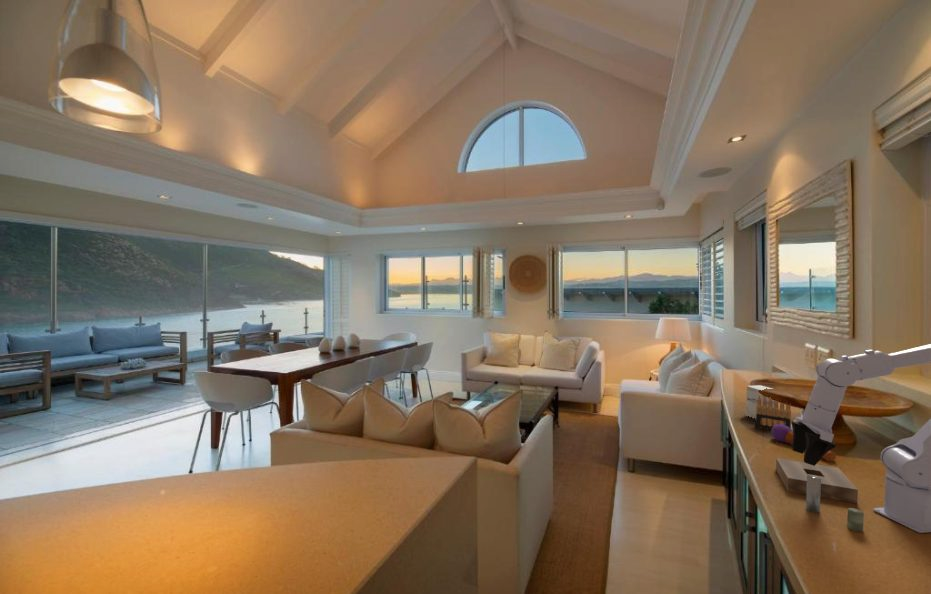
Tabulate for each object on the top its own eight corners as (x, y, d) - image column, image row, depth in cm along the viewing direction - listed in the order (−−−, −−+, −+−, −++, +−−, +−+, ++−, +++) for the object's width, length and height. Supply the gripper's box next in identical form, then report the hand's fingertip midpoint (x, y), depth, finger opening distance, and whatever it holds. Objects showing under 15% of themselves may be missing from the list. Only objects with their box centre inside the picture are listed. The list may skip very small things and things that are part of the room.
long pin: (822, 512, 100) (824, 479, 100) (813, 513, 100) (814, 480, 100) (812, 506, 103) (813, 474, 103) (803, 507, 103) (804, 475, 102)
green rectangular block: (866, 531, 93) (867, 513, 93) (856, 532, 92) (856, 514, 92) (853, 525, 95) (854, 507, 95) (843, 526, 95) (844, 508, 95)
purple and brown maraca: (822, 450, 129) (766, 423, 148) (823, 468, 130) (767, 439, 149) (839, 445, 129) (781, 419, 149) (840, 463, 130) (782, 435, 150)
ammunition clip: (755, 427, 161) (756, 395, 160) (755, 425, 162) (756, 394, 162) (790, 433, 154) (791, 400, 154) (790, 431, 156) (791, 399, 155)
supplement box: (745, 416, 174) (745, 385, 173) (760, 415, 175) (761, 384, 175) (760, 421, 167) (761, 390, 166) (776, 420, 168) (777, 389, 168)
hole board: (837, 480, 117) (838, 467, 117) (857, 503, 105) (857, 489, 104) (775, 469, 123) (776, 458, 123) (787, 490, 111) (787, 477, 111)
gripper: (792, 393, 111) (775, 440, 113) (815, 409, 98) (795, 462, 100) (824, 403, 109) (805, 451, 111) (852, 420, 95) (830, 475, 97)
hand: (802, 457), depth 105 cm, fingers open, 7 cm apart
